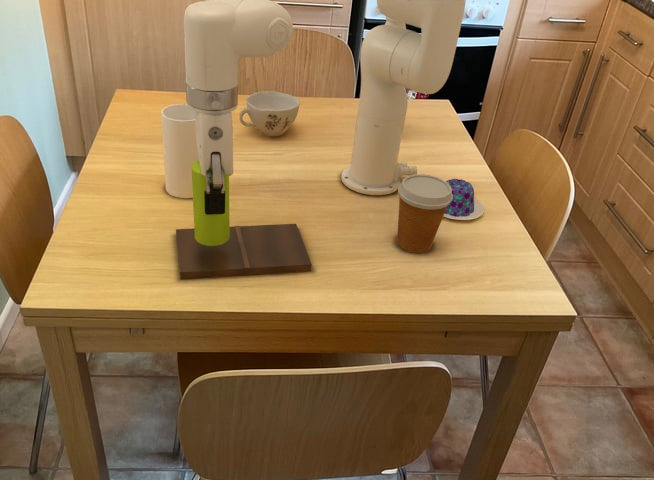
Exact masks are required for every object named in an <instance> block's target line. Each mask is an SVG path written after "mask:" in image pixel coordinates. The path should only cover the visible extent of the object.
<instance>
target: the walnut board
mask: <svg viewBox="0 0 654 480" xmlns="http://www.w3.org/2000/svg"><path fill="white" fill-rule="evenodd" d="M175 239H176V248H177V249H176V250H177V257H178V267H179V268H178V269H179V279H180V280H193V279H194V280H195V279H208V278H223V277H224V278H225V277H239V276H240V277H241V276H254V275H255V276H256V275H272V274H273V275H274V274H288V273H305V272H312V267H313V263H312V261H311V258H310V256H309V253H308V250H307V248H306V245H305V242H304V240H303V238H302V235H301V232H300V230H299V227H298V225H297V223H277V224H257V225H256V224H255V225H235V226H230V237H229V240H228V241H227V242H225V243H224V244H221V245H217V246H206V245H203V244H200V243H198V242H197V241H196V239H195V232H194V227H193V228H176V229H175Z"/></svg>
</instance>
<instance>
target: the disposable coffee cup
mask: <svg viewBox="0 0 654 480" xmlns="http://www.w3.org/2000/svg"><path fill="white" fill-rule="evenodd" d="M446 181H447V180H444V179H442V178H440V177H437V176H434V175H430V174H421V173H419V174H418V173H417V174H416V175H410V176H408V175H406V177H404V178H403V179H402V180H401V183H400V185H399V187H398V190H397V192H398V195H399V198H398V199H399V201H398V218H397V219H398V220H397V230H396V231H397V232H396V243H397V245H398V247H400V248H401V249H402V250H405V251H406V252H409V253H414V254H422V253H426V252H428V251H430V249H431V248H432V245H433V243H434V241H435V238H436V235H437V233H438V231H439V228H440V226H441V223H442V221H443V218H444V213H445V211H446V208H447V206H448V205H449V203H450V202H451V201H452V199H453V194H452V189H451V186H450V185H449V184H448V183H447V182H446Z"/></svg>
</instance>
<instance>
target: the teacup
mask: <svg viewBox="0 0 654 480" xmlns="http://www.w3.org/2000/svg"><path fill="white" fill-rule="evenodd" d="M245 104H246V107H245V108H241V110H240V112H239V118H238V119H239V122H240V123H241V125H242V126H244V127H250V128H255V129H257V130H258V131H259V132H260V134H262V135H264V136H267V137H280V136H283V135H284V134H285V132H286V131H288V130H289V129H290V128H291V127H292V125H293V124H294V122H295V121H296V119H297V117H298V113H299V109H300V106H301V105H300V104H301V100H300V99H299V98H298V97H297V96H294V95H292V94H289V93H285V92H280V91H272V90H265V91H258V92H254V93H252V94H250V95H248V96H247V97H246V103H245ZM245 114H247V115H248V117H249V119H250V121H251V123H248V122H246V121H245V120H243V117H244V115H245Z"/></svg>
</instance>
